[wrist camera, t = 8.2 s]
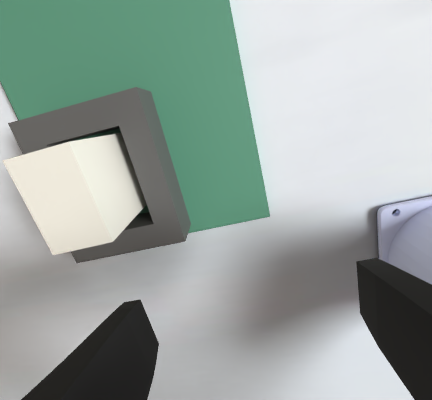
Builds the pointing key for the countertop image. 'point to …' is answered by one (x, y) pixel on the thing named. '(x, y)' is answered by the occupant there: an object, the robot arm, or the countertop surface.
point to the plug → (79, 191)
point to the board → (140, 104)
